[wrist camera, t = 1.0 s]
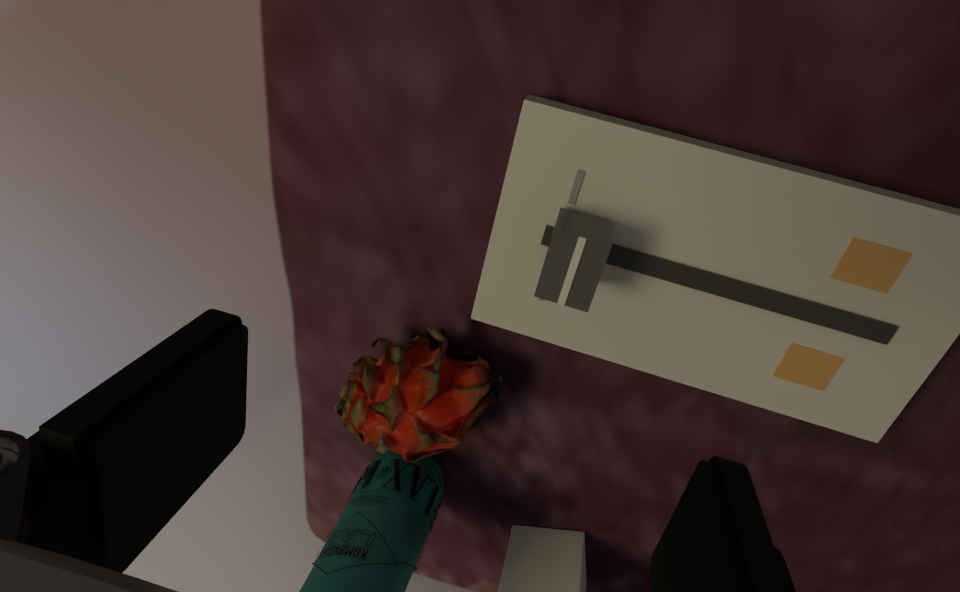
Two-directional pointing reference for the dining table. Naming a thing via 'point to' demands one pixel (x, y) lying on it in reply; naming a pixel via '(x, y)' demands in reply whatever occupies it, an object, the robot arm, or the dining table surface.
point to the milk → (544, 561)
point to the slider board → (729, 269)
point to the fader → (575, 259)
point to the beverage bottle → (380, 528)
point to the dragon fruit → (416, 397)
